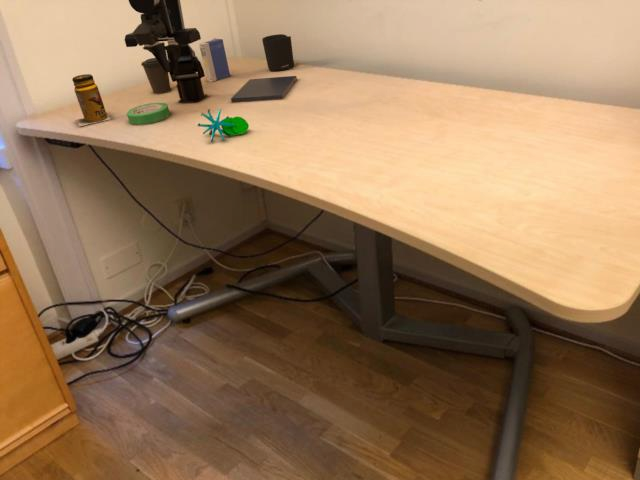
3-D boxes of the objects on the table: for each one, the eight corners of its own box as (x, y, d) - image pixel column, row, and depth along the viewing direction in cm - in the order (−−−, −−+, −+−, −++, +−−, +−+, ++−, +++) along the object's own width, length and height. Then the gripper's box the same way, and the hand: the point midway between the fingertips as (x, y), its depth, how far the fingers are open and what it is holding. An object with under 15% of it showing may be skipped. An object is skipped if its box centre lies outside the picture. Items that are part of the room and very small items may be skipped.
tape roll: (139, 127, 154) (135, 117, 153) (123, 120, 162) (119, 110, 160) (177, 116, 160) (174, 106, 159) (160, 109, 168) (157, 100, 166)
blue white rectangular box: (225, 75, 197) (216, 37, 191) (230, 75, 196) (222, 38, 189) (206, 81, 192) (197, 42, 186) (211, 81, 191) (203, 43, 184)
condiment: (111, 119, 164) (97, 75, 158) (80, 126, 160) (64, 82, 154) (105, 114, 169) (91, 71, 163) (75, 121, 166) (59, 78, 159)
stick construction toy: (202, 137, 135) (198, 105, 135) (195, 148, 141) (191, 117, 141) (252, 139, 140) (248, 108, 141) (243, 150, 146) (239, 120, 147)
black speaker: (264, 72, 195) (258, 41, 190) (272, 65, 203) (267, 35, 197) (291, 70, 193) (286, 39, 188) (298, 64, 201) (293, 33, 196)
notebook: (297, 79, 182) (296, 75, 182) (282, 99, 165) (282, 94, 164) (250, 83, 184) (249, 79, 184) (231, 102, 167) (230, 98, 166)
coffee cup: (180, 88, 187) (172, 56, 182) (160, 95, 181) (151, 62, 176) (163, 87, 191) (154, 55, 186) (143, 94, 185) (134, 61, 180)
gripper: (101, 15, 140) (122, 82, 148) (169, 11, 134) (187, 80, 143) (129, 7, 149) (147, 70, 157) (193, 3, 143) (208, 68, 152)
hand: (171, 72), depth 152 cm, fingers closed
